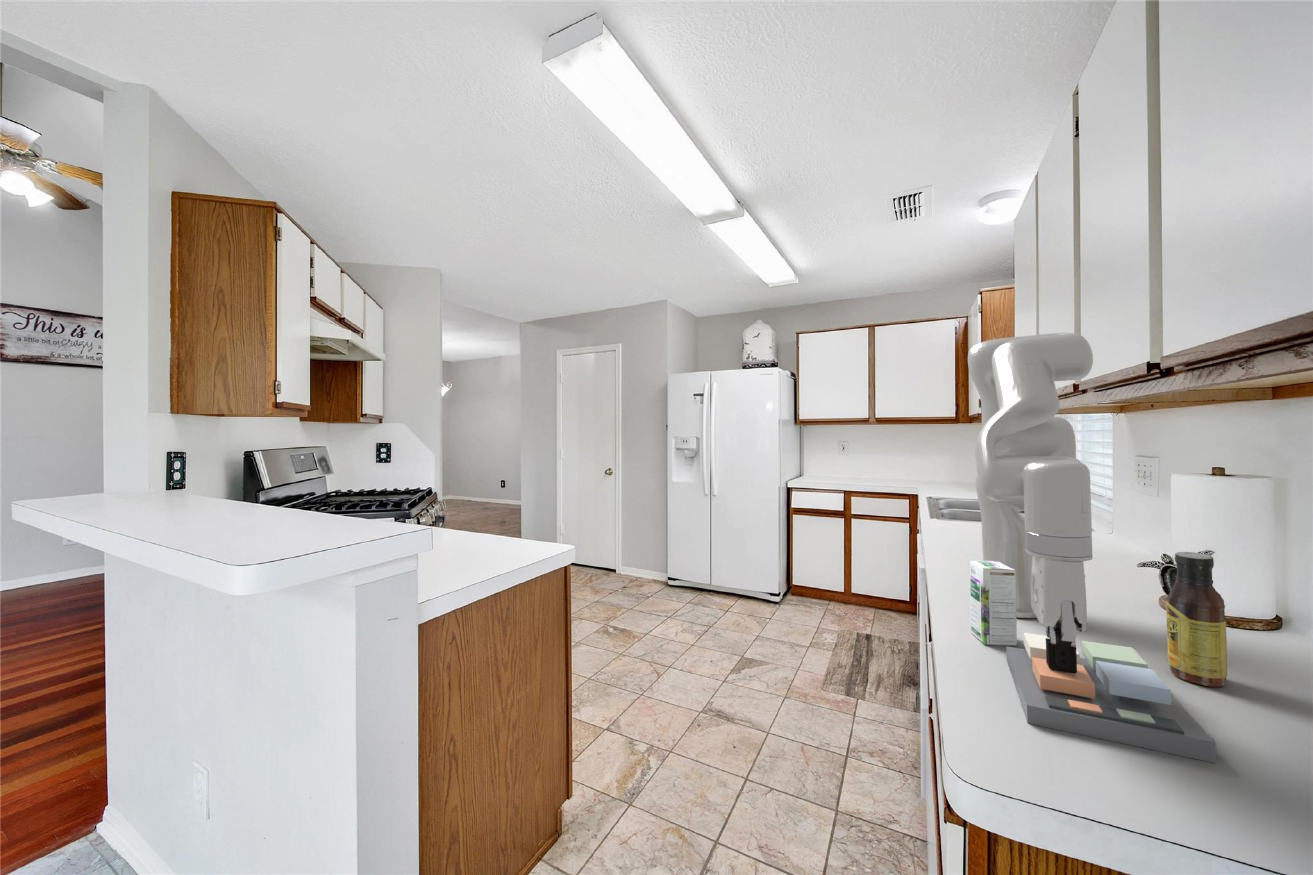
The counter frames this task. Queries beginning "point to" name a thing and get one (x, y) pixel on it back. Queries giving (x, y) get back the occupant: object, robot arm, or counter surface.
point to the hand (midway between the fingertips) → (1061, 668)
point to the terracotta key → (1063, 679)
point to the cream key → (1038, 646)
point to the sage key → (1111, 654)
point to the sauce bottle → (1196, 623)
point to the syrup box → (993, 603)
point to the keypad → (1110, 714)
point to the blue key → (1133, 682)
